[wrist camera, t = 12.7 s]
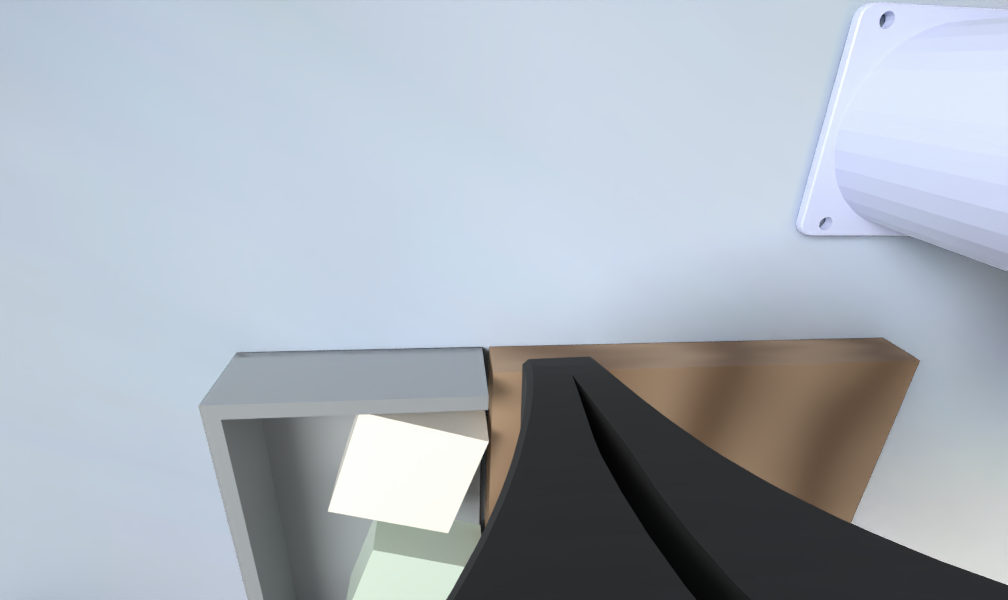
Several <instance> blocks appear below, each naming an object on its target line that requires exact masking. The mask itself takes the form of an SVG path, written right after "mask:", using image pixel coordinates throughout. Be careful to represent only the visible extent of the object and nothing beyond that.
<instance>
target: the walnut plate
mask: <svg viewBox="0 0 1008 600" xmlns="http://www.w3.org/2000/svg"><path fill="white" fill-rule="evenodd" d="M589 356H590V357H591V358H593V359H594V360H595V361H597V362H598V363H599V364H600V365H602V366H603V367H604V368H605V369H606V370H608V371H609V372H610V373H611V374H612V375H614V376H615V377H616V378H617V379H618V380H620V381H621V382H622V383H623V384H625V385H626V386H627V387H628V388H629V389H631V390H632V391H633V392H634V393H636V394H637V395H638V396H639V397H641V398H642V399H643V400H644V401H646V402H647V403H648V404H650V405H651V406H652V407H653V408H655V409H656V410H657V411H659V412H660V413H661V414H663V415H664V416H665V417H667V418H668V419H669V420H671V421H672V422H673V423H675V424H676V425H678V426H679V427H680V428H682V429H683V430H685V431H686V432H688V433H689V434H691V435H692V436H694V437H695V438H696V439H698V440H699V441H701V442H702V443H704V444H705V445H707V446H708V447H710V448H711V449H713V450H714V451H716V452H718V453H719V454H721V455H722V456H724V457H726V458H727V459H729V460H731V461H732V462H734V463H736V464H737V465H739V466H741V467H743V468H744V469H746V470H748V471H749V472H751V473H753V474H755V475H756V476H758V477H760V478H761V479H763V480H765V481H767V482H769V483H770V484H772V485H774V486H776V487H778V488H780V489H782V490H784V491H785V492H787V493H789V494H791V495H793V496H795V497H797V498H799V499H801V500H803V501H805V502H807V503H809V504H812V505H814V506H816V507H818V508H820V509H822V510H824V511H826V512H828V513H830V514H832V515H834V516H836V517H838V518H840V519H842V520H845V521H847V522H849V523H851V521H852V519H853V516H854V514H855V512H856V509H857V507H858V505H859V502H860V500H861V498H862V495H863V493H864V491H865V488H866V486H867V484H868V481H869V479H870V477H871V474H872V472H873V470H874V467H875V465H876V463H877V460H878V458H879V456H880V453H881V451H882V449H883V446H884V444H885V441H886V439H887V437H888V434H889V432H890V430H891V427H892V425H893V423H894V420H895V418H896V416H897V413H898V411H899V409H900V406H901V404H902V402H903V399H904V397H905V395H906V392H907V390H908V388H909V385H910V383H911V381H912V378H913V376H914V374H915V371H916V369H917V366H918V364H919V362H920V360H918V359H917V358H915V357H913V356H912V355H910V354H909V353H907V352H905V351H904V350H902V349H900V348H899V347H897V346H896V345H894V344H892V343H891V342H889V341H888V340H886V339H884V338H852V339H809V340H766V341H722V342H679V343H635V344H592V345H548V346H505V347H489V372H488V395H489V401H488V411H487V430H488V439H489V443H488V445H487V450H486V488H485V527H486V525H487V523H488V520H489V518H490V516H491V513H492V511H493V509H494V507H495V504H496V502H497V500H498V497H499V495H500V492H501V490H502V487H503V484H504V482H505V479H506V477H507V474H508V471H509V468H510V465H511V462H512V459H513V455H514V452H515V448H516V444H517V440H518V437H519V433H520V425H521V394H522V364H523V363H525V362H526V361H527V360H528V359H541V358H565V357H589ZM485 527H484V529H485Z"/></svg>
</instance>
